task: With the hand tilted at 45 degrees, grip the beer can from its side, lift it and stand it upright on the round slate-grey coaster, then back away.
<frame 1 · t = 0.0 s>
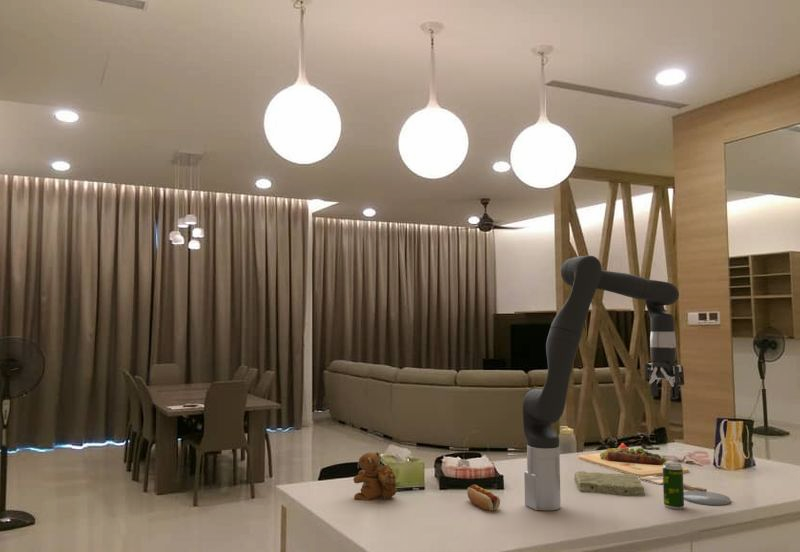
hand: (664, 397, 200), 29 cm above the kitchen island, tool pointing down, fingers open, 8 cm apart
stuffed squirrel: (376, 498, 192), on the kitchen island
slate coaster: (705, 499, 190), on the kitchen island
food: (483, 507, 183), on the kitchen island
beech turner: (655, 481, 212), on the kitchen island
cutting board: (630, 467, 237), on the kitchen island
decorative tile: (608, 489, 204), on the kitchen island
beer can: (674, 507, 182), on the kitchen island
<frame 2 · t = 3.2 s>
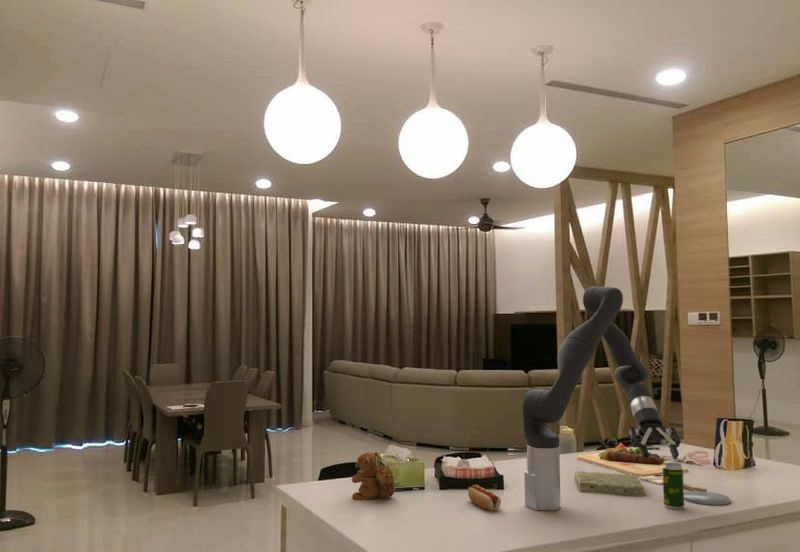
hand: (661, 457, 190), 12 cm above the kitchen island, tool tilted 45°, fingers open, 8 cm apart
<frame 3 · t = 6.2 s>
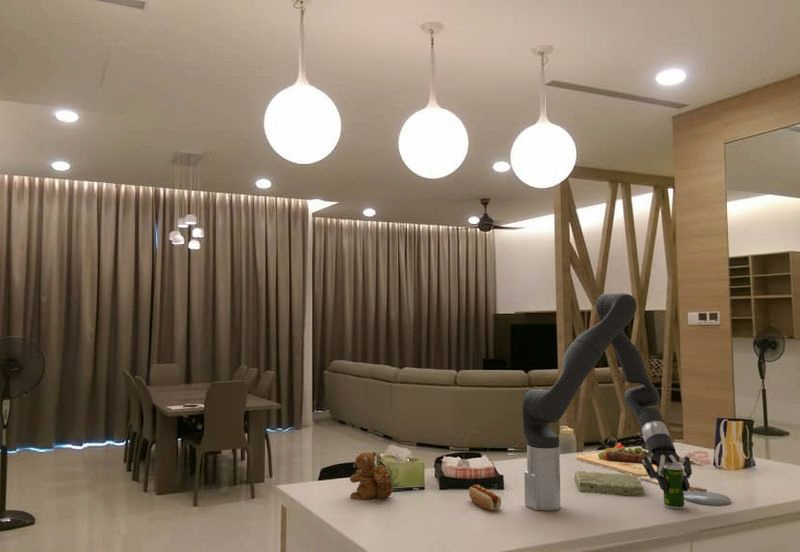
hand: (676, 489, 180), 5 cm above the kitchen island, tool tilted 45°, fingers closed on beer can, 5 cm apart
beer can: (674, 507, 182), on the kitchen island, touching gripper
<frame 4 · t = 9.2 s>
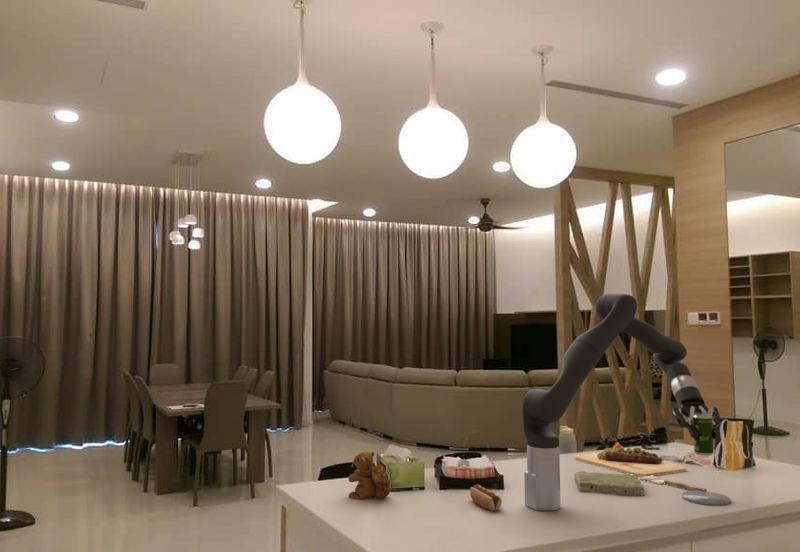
hand: (706, 437, 189), 18 cm above the kitchen island, tool tilted 45°, fingers closed on beer can, 5 cm apart
beer can: (704, 454, 191), point 13 cm above the kitchen island, touching gripper
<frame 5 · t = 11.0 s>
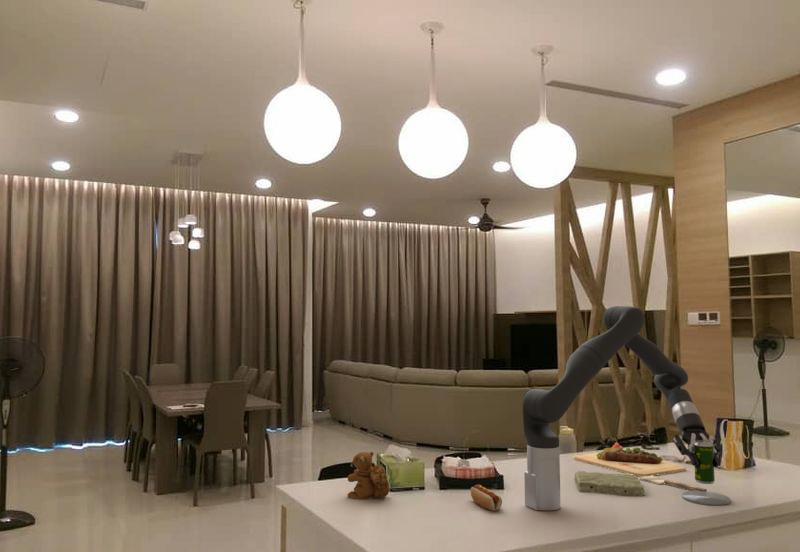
hand: (707, 465, 189), 10 cm above the kitchen island, tool tilted 45°, fingers closed on beer can, 5 cm apart
beer can: (704, 482, 190), point 5 cm above the kitchen island, touching gripper
when the fingers open (8 cm above the kitchen island, at t = 12.5 s): beer can drops 2 cm, resting on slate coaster.
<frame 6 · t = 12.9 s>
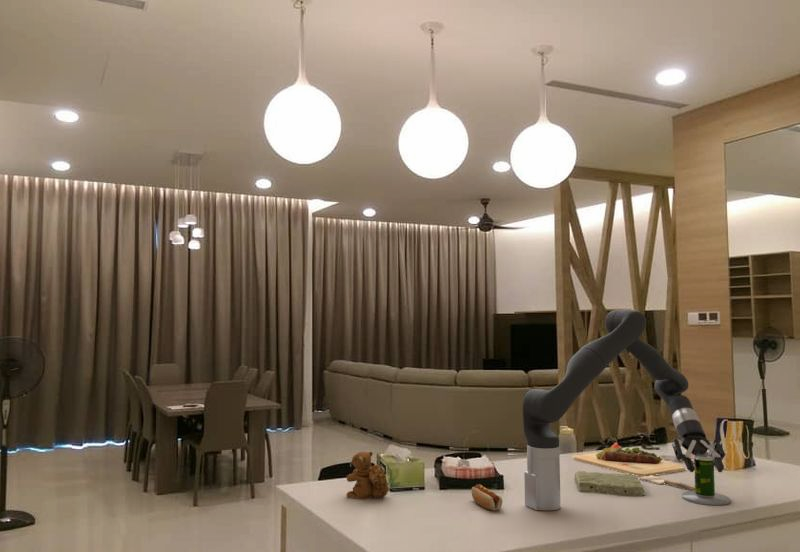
hand: (707, 470, 189), 9 cm above the kitchen island, tool tilted 45°, fingers open, 8 cm apart
beer can: (705, 496, 190), point 1 cm above the kitchen island, touching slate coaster
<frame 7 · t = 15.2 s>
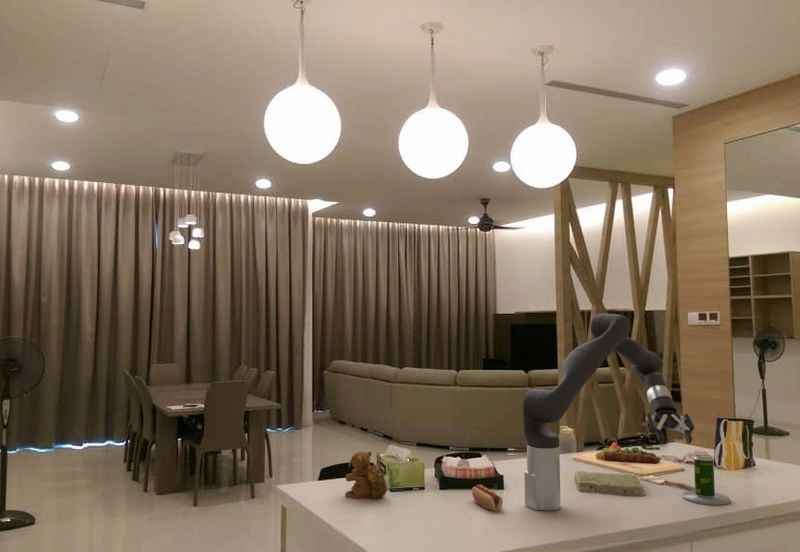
hand: (676, 442, 202), 15 cm above the kitchen island, tool tilted 45°, fingers open, 8 cm apart
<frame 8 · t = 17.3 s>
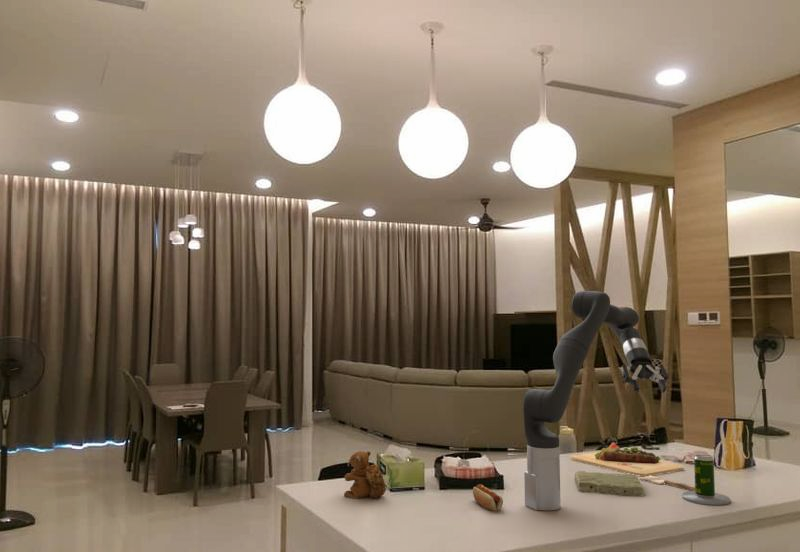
hand: (650, 391, 206), 31 cm above the kitchen island, tool tilted 45°, fingers open, 8 cm apart
at the end: beer can inside the target area on the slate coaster (0.2 cm from its centre), point 0.6 cm above the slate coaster's base; beer can tilted 0°; the gripper is holding nothing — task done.
